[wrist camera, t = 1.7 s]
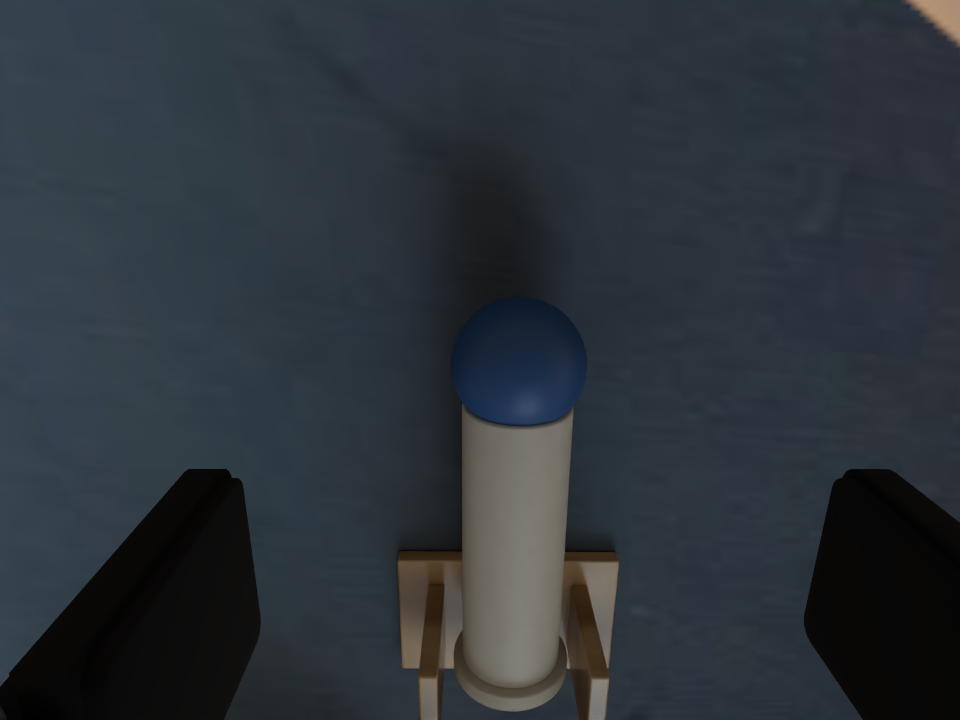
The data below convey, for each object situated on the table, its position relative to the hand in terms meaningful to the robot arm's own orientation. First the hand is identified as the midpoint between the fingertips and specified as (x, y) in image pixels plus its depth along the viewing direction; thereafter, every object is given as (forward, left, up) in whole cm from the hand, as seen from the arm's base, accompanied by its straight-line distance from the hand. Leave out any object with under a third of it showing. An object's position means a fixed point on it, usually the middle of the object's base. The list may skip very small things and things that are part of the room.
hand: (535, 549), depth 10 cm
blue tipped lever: (+4, 0, -10) cm, 11 cm away
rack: (+11, 0, -11) cm, 15 cm away
